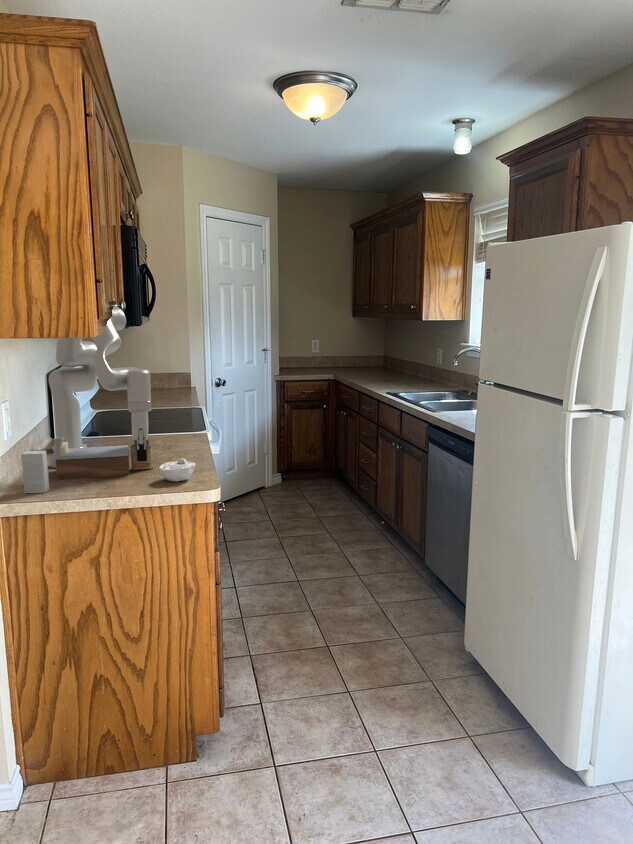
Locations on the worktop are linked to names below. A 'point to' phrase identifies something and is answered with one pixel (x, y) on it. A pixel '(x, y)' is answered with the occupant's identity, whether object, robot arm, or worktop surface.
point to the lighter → (141, 464)
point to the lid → (91, 452)
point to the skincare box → (35, 471)
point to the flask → (56, 451)
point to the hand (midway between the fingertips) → (142, 459)
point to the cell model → (177, 470)
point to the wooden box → (92, 467)
